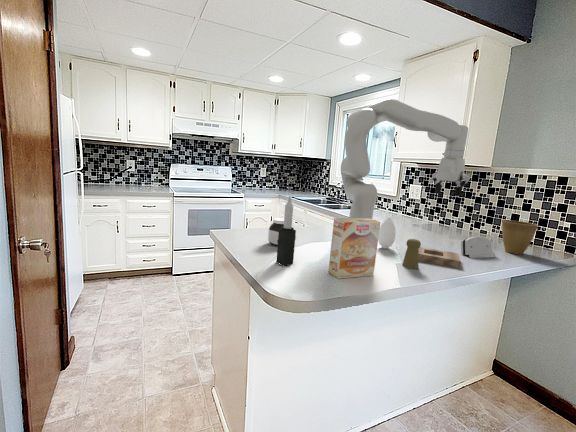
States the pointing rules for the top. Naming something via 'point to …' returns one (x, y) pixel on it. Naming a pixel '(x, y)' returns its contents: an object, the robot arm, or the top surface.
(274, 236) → the spread jar
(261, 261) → the top surface
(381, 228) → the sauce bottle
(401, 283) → the top surface
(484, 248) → the grey piece
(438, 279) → the top surface
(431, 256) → the tan flat frame
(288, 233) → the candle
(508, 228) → the plant pot
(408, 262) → the cork
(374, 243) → the coffeecake box
